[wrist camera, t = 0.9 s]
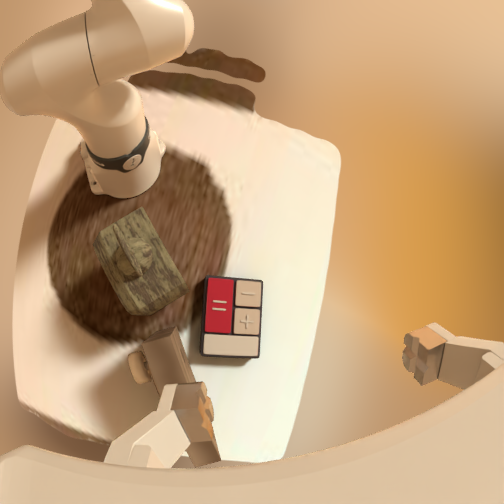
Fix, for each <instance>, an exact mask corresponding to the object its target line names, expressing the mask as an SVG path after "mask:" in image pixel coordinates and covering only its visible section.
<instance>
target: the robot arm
mask: <svg viewBox="0 0 504 504" xmlns="http://www.w3.org/2000/svg"><path fill="white" fill-rule="evenodd" d="M91 1H92V7H91V8H90V9H89V10H88V11H86V12H84V13H82V14H79V15H76V16H74V17H71V18H69V19H67V20H64V21H62V22H59V23H57V24H55V25H53V26H50V27H48V28H46V29H44V30H42V31H40V32H38V33H36V34H35V35H33V36H32V37H30V38H29V39H28V40H26V41H25V42H24V43H22V44H21V45H20V46H18V47H17V48H16V49H15V50H14V51H12V52H11V53H10V54H9V55H8V56H7V57H6V58H5V60H4V63H3V65H2V68H1V71H0V95H1V98H2V100H3V102H4V104H5V105H6V106H7V108H8V109H9V110H11V111H12V112H14V113H15V114H17V115H20V116H26V115H44V116H50V117H55V118H58V119H61V120H63V121H66V122H68V123H70V124H71V125H73V126H74V127H75V128H76V129H77V130H78V131H79V133H80V134H81V136H82V137H83V139H82V141H81V142H80V145H81V151H80V154H81V157H82V159H83V160H84V163H85V168H86V172H87V176H88V180H89V183H90V187H91V190H92V192H93V194H97V195H100V194H108V195H110V196H113V197H116V198H131V197H134V196H137V195H139V194H141V193H143V192H145V191H146V190H147V189H148V188H150V187H151V186H152V184H153V183H154V182H155V180H156V179H157V177H158V175H159V171H160V166H161V158H162V156H163V154H164V153H165V150H166V147H165V144H164V143H163V142H162V141H161V140H159V139H158V138H157V134H156V132H155V131H153V130H152V129H150V127H149V124H148V121H147V119H146V117H145V116H144V109H143V102H142V97H141V94H140V93H139V91H138V90H137V89H136V88H135V87H134V86H133V85H131V84H130V83H128V82H127V81H124V80H121V78H124V77H127V76H131V75H134V74H137V73H140V72H144V71H148V70H150V69H152V68H155V67H157V66H159V65H162V64H164V63H166V62H169V61H171V60H173V59H175V58H178V57H180V56H181V55H182V54H183V53H184V52H185V51H186V49H187V48H188V46H189V44H190V42H191V40H192V37H193V32H194V19H193V15H192V13H191V11H190V9H189V7H188V6H187V5H186V3H185V2H184V1H183V0H91ZM95 183H96V185H94V184H95ZM404 344H405V345H406V348H405V349H404V351H403V357H402V359H403V363H404V366H405V368H406V369H407V370H408V371H409V372H412V373H414V378H415V379H416V380H417V381H418V382H419V383H420V384H421V386H422V385H425V384H427V383H430V382H432V381H434V380H436V379H438V380H440V381H443V382H446V383H448V384H450V385H453V386H456V387H459V388H461V389H464V390H463V391H461V392H460V393H458V394H456V395H455V396H453V397H451V398H450V399H448V400H446V401H444V402H442V403H441V404H439V405H437V406H435V407H433V408H431V409H429V410H427V411H425V412H423V413H421V414H419V415H417V416H415V417H412V418H410V419H408V420H406V421H404V422H401V423H399V424H397V425H394V426H392V427H389V428H387V429H385V430H382V431H379V432H377V433H374V434H371V435H369V436H366V437H363V438H360V439H357V440H354V441H352V442H348V443H345V444H342V445H339V446H335V447H332V448H328V449H324V450H320V451H317V452H313V453H309V454H304V455H300V456H295V457H290V458H285V459H280V460H274V461H268V462H262V463H255V464H247V465H238V466H228V467H214V468H190V469H187V468H186V469H178V468H176V469H174V468H171V467H172V465H173V464H174V463H175V462H176V461H177V459H178V458H179V457H180V456H181V455H182V454H183V452H184V451H185V450H186V449H187V447H188V446H189V445H190V444H191V442H203V441H212V437H213V427H212V424H211V422H212V421H213V420H214V412H213V406H212V402H211V399H210V398H209V397H208V396H207V388H206V386H205V383H204V382H193V383H179V384H166V385H165V386H164V389H163V392H162V395H161V398H160V401H159V404H158V407H157V411H152V412H151V413H150V414H149V415H147V416H146V417H145V418H143V419H142V420H141V421H139V422H138V423H137V424H135V425H134V426H133V427H131V428H130V429H129V430H127V431H126V432H125V433H123V434H122V435H121V436H119V437H118V438H117V439H115V440H114V441H112V443H111V445H110V448H109V450H108V453H107V455H106V457H105V460H104V462H103V463H102V462H97V461H90V460H85V459H80V458H75V457H71V456H67V455H63V454H59V453H55V452H51V451H48V450H44V449H41V448H38V447H35V446H31V445H24V446H21V447H19V448H16V449H14V450H12V451H10V452H7V453H5V454H3V455H1V456H0V504H504V343H502V342H496V341H488V340H482V339H475V338H468V337H461V336H458V337H456V336H454V335H452V334H451V333H450V332H449V331H447V330H446V329H444V328H443V327H441V326H440V325H439V324H437V323H431V324H429V325H427V326H425V327H423V328H420V329H418V330H415V331H413V332H410V333H407V334H406V335H405V337H404Z"/></svg>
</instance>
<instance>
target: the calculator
mask: <svg viewBox="0 0 504 504" xmlns="http://www.w3.org/2000/svg"><path fill="white" fill-rule="evenodd" d="M262 295H263V281H262V280H254V279H242V278H231V277H221V276H210V275H207V276H206V277H205V281H204V294H203V308H202V323H201V338H200V354H201V355H202V356H209V357H228V358H259V355H260V337H261V317H262Z"/></svg>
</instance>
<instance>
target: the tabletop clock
mask: <svg viewBox="0 0 504 504" xmlns="http://www.w3.org/2000/svg"><path fill="white" fill-rule="evenodd" d="M93 247H94V250H95V252H96V254H97V257H98V259H99V261H100V263H101V265H102V267H103V269H104V272H105V274H106V276H107V278H108V279H109V281H110V283H111V285H112V287H113V289H114V291H115V292H116V294H117V296H118V298H119V300H120V301H121V303H122V305H123V306H124V308H125V309H126V310H127V312H129V313H130V314H132V315H152V314H153V313H155V312H157V311H158V310H160V309H162V308H163V307H165V306H166V305H168V304H170V303H171V302H173V301H175V300H176V299H178V298H180V297H181V296H183V295H185V294H186V293H188V292H189V289H188V287H187V285H186V283H185V281H184V279H183V278H182V276H181V274H180V273H179V271H178V269H177V267H176V266H175V264H174V262H173V261H172V259H171V257H170V255H169V254H168V252H167V250H166V248H165V246H164V245H163V243H162V241H161V239H160V238H159V236H158V234H157V232H156V230H155V229H154V227H153V225H152V223H151V221H150V219H149V218H148V216H147V214H146V212H145V210H144V208H143V207H140V208H139V209H137V210H135V211H134V212H132V213H130V214H128V215H127V216H125V217H123V218H122V219H120V220H118V221H117V222H115V223H113V224H112V225H110V226H108V227H107V228H105V229H103V230H102V231H100V232H99V234H98V236H97V238H96V239H95V241H94V243H93Z"/></svg>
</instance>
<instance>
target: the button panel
mask: <svg viewBox="0 0 504 504" xmlns="http://www.w3.org/2000/svg"><path fill="white" fill-rule="evenodd" d="M142 347H143V350H144V353H145V356H146V358H147V361H148V368H149V371H150V373H151V376H152V379H153V381H154V384H155V386H156V389H157V391H158V394H159V396H160V398H161V395H162V392H163V389H164V386H165V385H166V384H179V383H193V382H196V381H195V378H194V375H193V373H192V370H191V367H190V364H189V362H188V359H187V356H186V353H185V350H184V347H183V345H182V342H181V339H180V336H179V333H178V329H177V326H174V327H170V328H167V329H163V330H160V331H157V332H155V333H154V334H153V335H152V336H150V337H149V338H148V339H147V340H146V341H144V342H143V343H142ZM211 424H212V423H211ZM185 451H187V453H188V455H189V457H190V459H191V461H192V463H193V464H194V466H195V467H199V466H203V465H207V464H211V463H214V462H218V461H221V458H220V455H219V451H218V447H217V443H216V439H215V435H214V431H213V437H212V441H203V442H191V444H190V445H189V446H188V447H187V449H186V450H185Z"/></svg>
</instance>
